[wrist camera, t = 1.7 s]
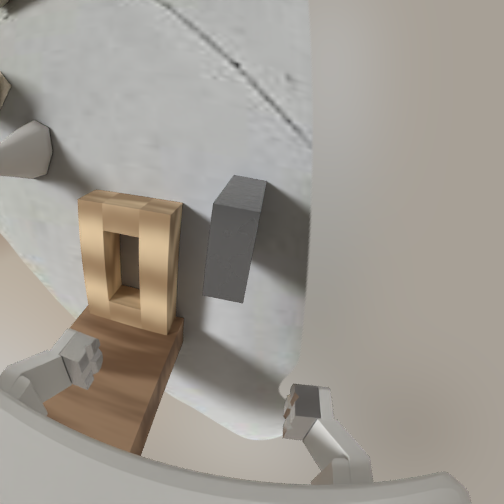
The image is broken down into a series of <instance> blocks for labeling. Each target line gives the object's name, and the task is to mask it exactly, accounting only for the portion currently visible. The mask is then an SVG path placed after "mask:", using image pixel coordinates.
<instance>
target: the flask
mask: <svg viewBox="0 0 504 504" xmlns="http://www.w3.org/2000/svg"><path fill="white" fill-rule="evenodd" d="M52 152H53V151H52V146H51V139H50V133H49V128H48V127H46V126H44V125H43V124H41V123H39V122H37V121H36V120H33V121H31V122H29V123H27V124H25V125H23V126H21V127H20V128H18V129H17V130H16V131H14V132H13V133H12V134H11V135H9V136H8V137H7V138H6V139H4V140H3V141H2V142H0V176H11V177H20V178H28V179H33V178H36V177H39V176H42V175H45V174H47V171H48V167H49V163H50V159H51V156H52Z"/></svg>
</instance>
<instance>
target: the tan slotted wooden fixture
mask: <svg viewBox="0 0 504 504" xmlns="http://www.w3.org/2000/svg"><path fill="white" fill-rule="evenodd" d="M182 204H183V203H180V202H174V201H168V200H162V199H156V198H149V197H143V196H137V195H130V194H123V193H117V192H110V191H103V190H94V191H92V192H90V193H89V194H87V195H85V196H83V197H81V198H79V199H78V217H79V232H80V244H81V254H82V263H83V271H84V279H85V286H86V292H87V298H88V304H89V305H88V306H87V307H86V309H85V310H84V311H83V312H82V314H81V315H80V316H79V317H78V318H77V320H76V321H75V322H74V324H73V325H72V326H71V327H70V328H71V329H73V330H76V331H78V332H81V333H84V334H86V335H89V336H91V337H94V338H97V339H99V342H100V346H99V349H100V351H101V352H102V355H103V362H102V366H101V368H100V370H99V372H98V373H95V374H93V376H94V380H93V382H92V384H91V386H90V387H89V389H88V390H86V389H84V388H81V387H79V386H76V385H74V384H72V385H71V386H69V387H68V388H66V389H64V390H63V391H61V392H59V393H58V394H56V395H55V396H53V397H51V398H50V399H48V400H46V401H45V402H43V405H44V407H45V408H46V410H47V413H48V414H47V417H49V418H51V419H53V420H55V421H57V422H59V423H61V424H63V425H65V426H67V427H69V428H71V429H73V430H75V431H78V432H80V433H82V434H84V435H86V436H89V437H91V438H93V439H96V440H98V441H101V442H103V443H106V444H108V445H111V446H114V447H116V448H119V449H122V450H124V451H127V452H130V453H133V454H136V455H139V456H141V453H142V451H143V448H144V445H145V442H146V439H147V436H148V433H149V431H150V428H151V425H152V422H153V420H154V417H155V414H156V411H157V409H158V406H159V403H160V401H161V398H162V395H163V392H164V390H165V387H166V385H167V382H168V379H169V377H170V374H171V372H172V369H173V366H174V364H175V361H176V358H177V356H178V353H179V351H180V348H181V346H182V343H183V326H184V318H180V317H176V296H177V274H178V256H179V241H180V228H181V216H182ZM119 234H124V235H129V236H133V237H138V238H139V283H140V289H137V288H133V287H129V286H125V285H122V281H121V264H120V238H119Z"/></svg>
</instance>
